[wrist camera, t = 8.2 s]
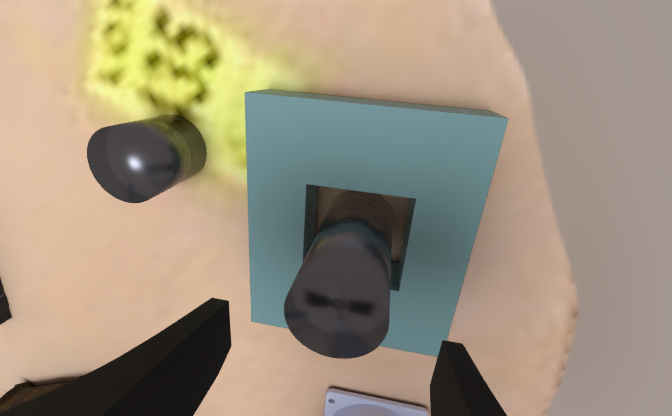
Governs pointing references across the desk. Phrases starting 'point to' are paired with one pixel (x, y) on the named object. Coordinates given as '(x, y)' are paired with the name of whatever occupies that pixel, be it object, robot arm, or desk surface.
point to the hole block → (374, 177)
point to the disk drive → (4, 306)
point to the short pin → (145, 156)
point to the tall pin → (345, 280)
